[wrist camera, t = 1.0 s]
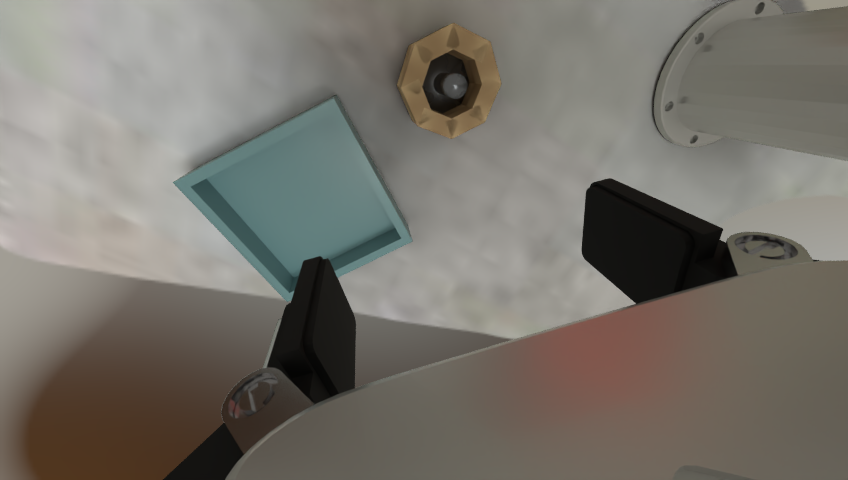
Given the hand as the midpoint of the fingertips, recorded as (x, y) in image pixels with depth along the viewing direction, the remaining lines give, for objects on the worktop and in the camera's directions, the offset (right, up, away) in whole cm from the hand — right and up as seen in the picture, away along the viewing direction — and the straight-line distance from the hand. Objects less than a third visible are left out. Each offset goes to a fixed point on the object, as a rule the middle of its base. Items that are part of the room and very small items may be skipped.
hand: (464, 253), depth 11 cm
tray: (-12, +4, +18) cm, 22 cm away
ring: (0, +13, +14) cm, 19 cm away
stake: (0, +14, +15) cm, 20 cm away
